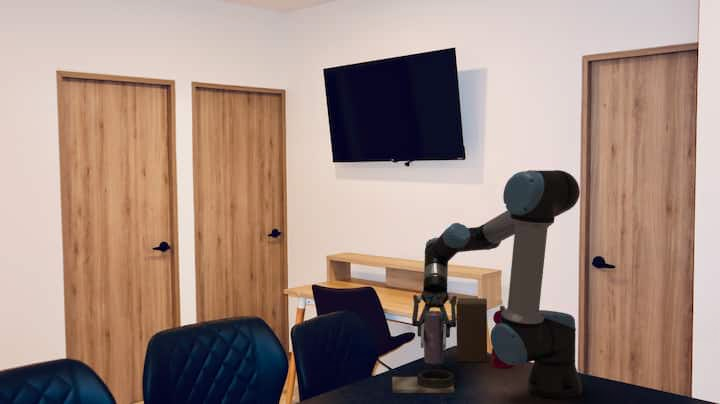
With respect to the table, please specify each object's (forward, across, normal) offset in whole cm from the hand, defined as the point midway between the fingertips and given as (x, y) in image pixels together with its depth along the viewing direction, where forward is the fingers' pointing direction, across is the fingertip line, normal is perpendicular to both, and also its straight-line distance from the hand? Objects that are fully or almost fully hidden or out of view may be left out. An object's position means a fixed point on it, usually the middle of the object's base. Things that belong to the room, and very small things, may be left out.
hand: (433, 345), depth 199 cm
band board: (+7, +3, -11) cm, 14 cm away
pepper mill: (-10, -22, -28) cm, 37 cm away
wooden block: (-15, -12, -34) cm, 39 cm away
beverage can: (+2, 0, -7) cm, 7 cm away
